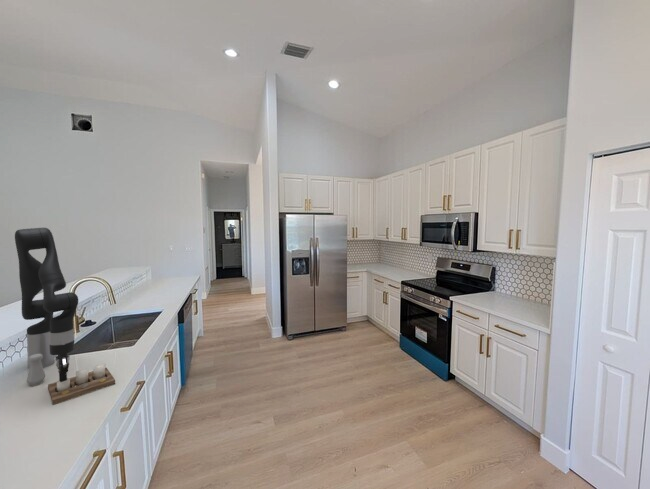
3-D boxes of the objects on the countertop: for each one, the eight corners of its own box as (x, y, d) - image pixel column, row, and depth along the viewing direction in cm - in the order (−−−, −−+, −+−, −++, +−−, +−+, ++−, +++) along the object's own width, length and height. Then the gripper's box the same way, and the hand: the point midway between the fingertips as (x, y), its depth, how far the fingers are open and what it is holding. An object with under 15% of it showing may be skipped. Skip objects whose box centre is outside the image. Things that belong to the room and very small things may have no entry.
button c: (93, 376, 124) (92, 365, 124) (104, 373, 127) (103, 362, 127) (94, 379, 122) (94, 368, 121) (106, 376, 125) (106, 365, 124)
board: (48, 388, 117) (48, 383, 117) (106, 371, 133) (106, 366, 133) (52, 405, 107) (52, 399, 107) (115, 383, 122) (115, 378, 122)
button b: (75, 381, 120) (75, 370, 119) (87, 378, 123) (87, 367, 122) (77, 385, 117) (76, 374, 117) (89, 381, 120) (88, 370, 120)
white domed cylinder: (56, 392, 115) (56, 380, 115) (69, 388, 118) (69, 376, 118) (57, 396, 113) (57, 384, 112) (70, 391, 116) (70, 380, 115)
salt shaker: (33, 388, 118) (32, 358, 117) (23, 386, 119) (22, 357, 118) (49, 380, 123) (48, 352, 123) (39, 379, 125) (38, 351, 124)
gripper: (47, 338, 115) (48, 378, 116) (51, 348, 107) (52, 390, 108) (71, 334, 121) (72, 371, 122) (76, 342, 113) (77, 383, 114)
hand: (63, 380), depth 115 cm, fingers closed
